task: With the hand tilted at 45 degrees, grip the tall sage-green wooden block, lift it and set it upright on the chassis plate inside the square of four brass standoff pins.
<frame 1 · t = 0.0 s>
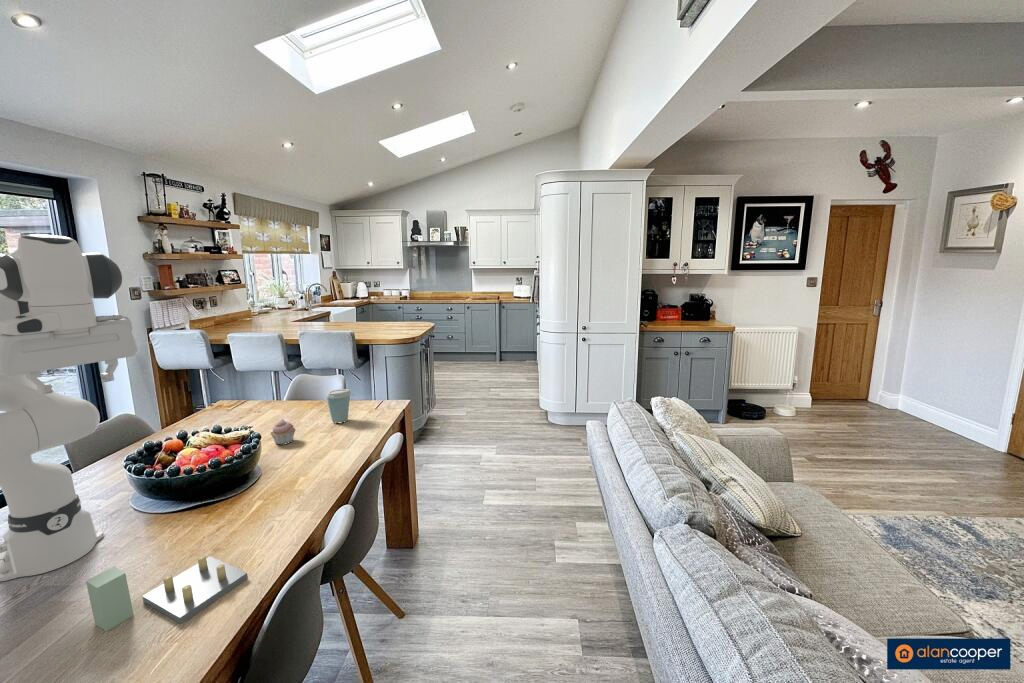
hand: (78, 387, 86), 48 cm above the table, tool pointing down, fingers open, 8 cm apart
chassis plate: (197, 589, 96), on the table
disposable coffee cup: (340, 421, 199), on the table
cupcake: (284, 442, 176), on the table
green block: (114, 619, 88), on the table
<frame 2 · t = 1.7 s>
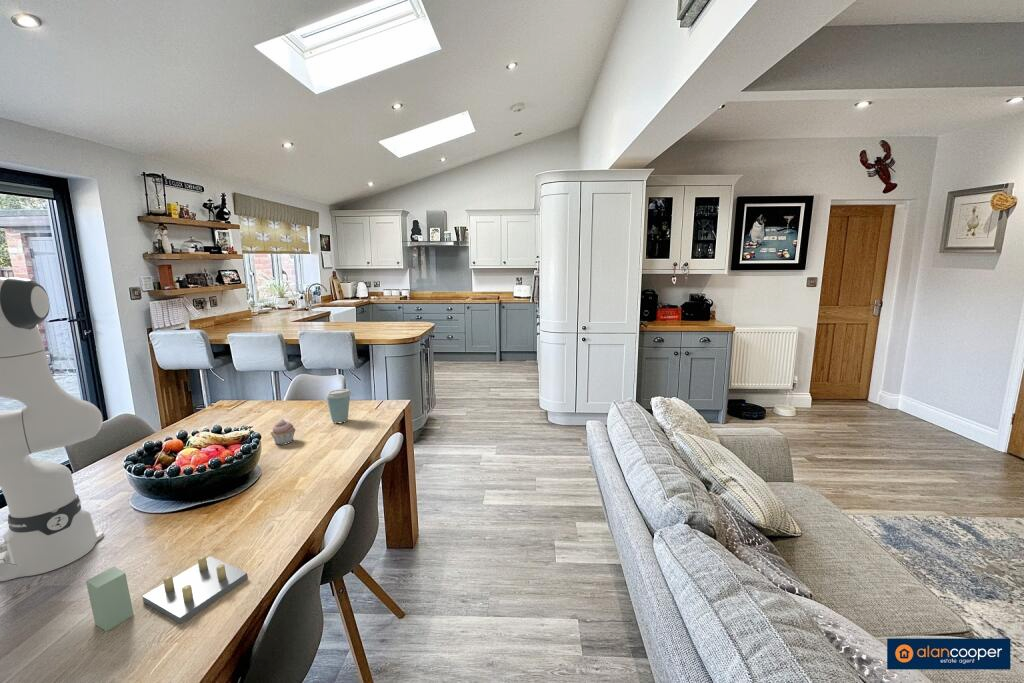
hand: (3, 563, 73), 22 cm above the table, tool tilted 45°, fingers open, 8 cm apart
nothing on the table moved.
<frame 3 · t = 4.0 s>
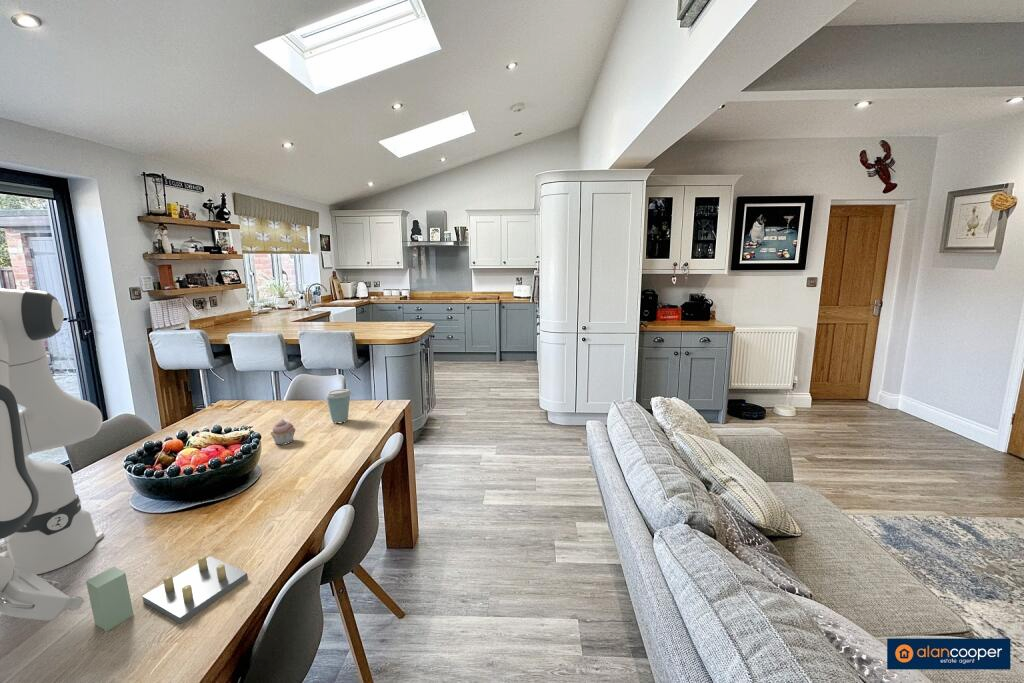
hand: (68, 595, 81), 10 cm above the table, tool tilted 45°, fingers open, 8 cm apart
nothing on the table moved.
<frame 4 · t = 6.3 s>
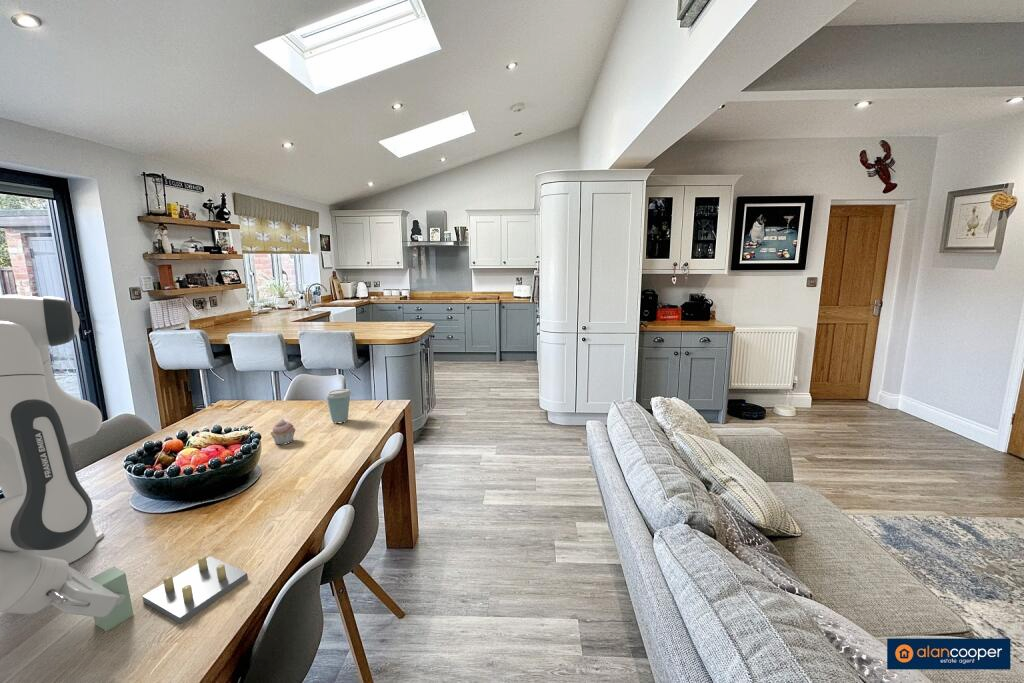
hand: (113, 594, 88), 5 cm above the table, tool tilted 45°, fingers closed on green block, 4 cm apart
green block: (114, 619, 88), on the table, touching gripper
everything else where it was.
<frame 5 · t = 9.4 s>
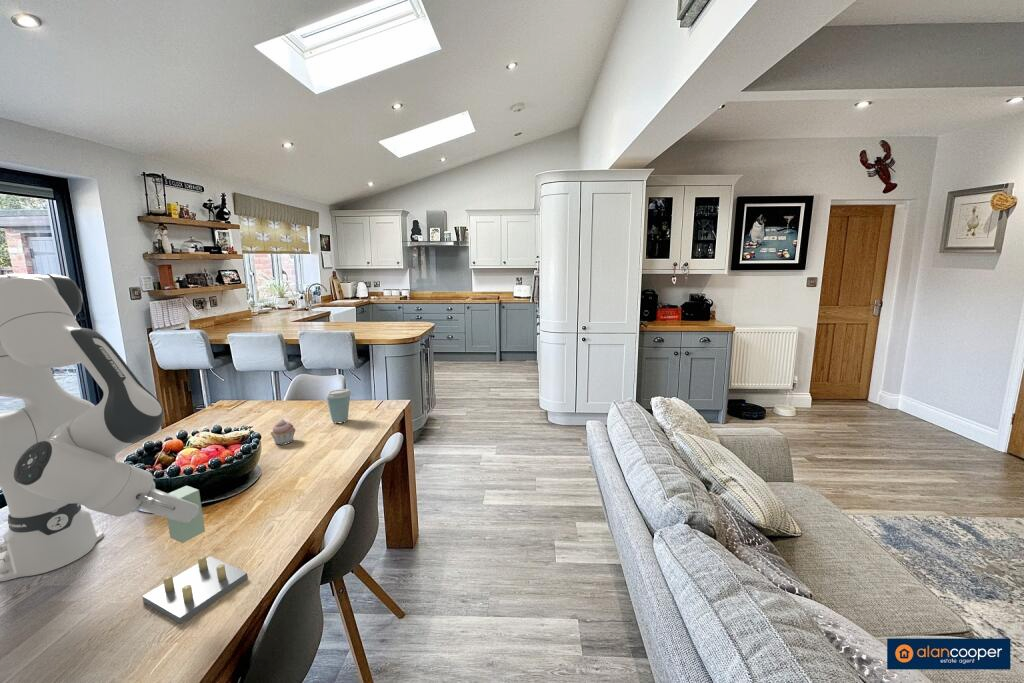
hand: (187, 510, 93), 19 cm above the table, tool tilted 45°, fingers closed on green block, 4 cm apart
green block: (187, 534, 93), point 14 cm above the table, touching gripper
everything else where it was.
when the fingers open (9 cm above the table, at t = 12.6 s): green block drops 2 cm, resting on chassis plate.
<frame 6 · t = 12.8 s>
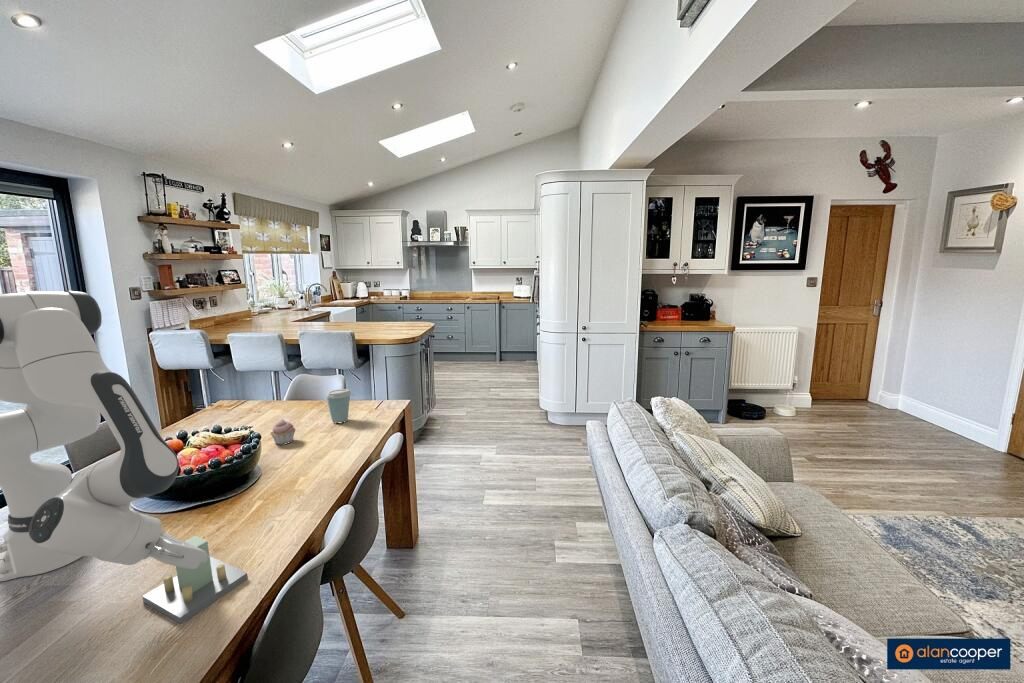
hand: (194, 553, 95), 9 cm above the table, tool tilted 45°, fingers open, 7 cm apart
green block: (196, 583, 96), point 2 cm above the table, touching chassis plate
everything else where it was.
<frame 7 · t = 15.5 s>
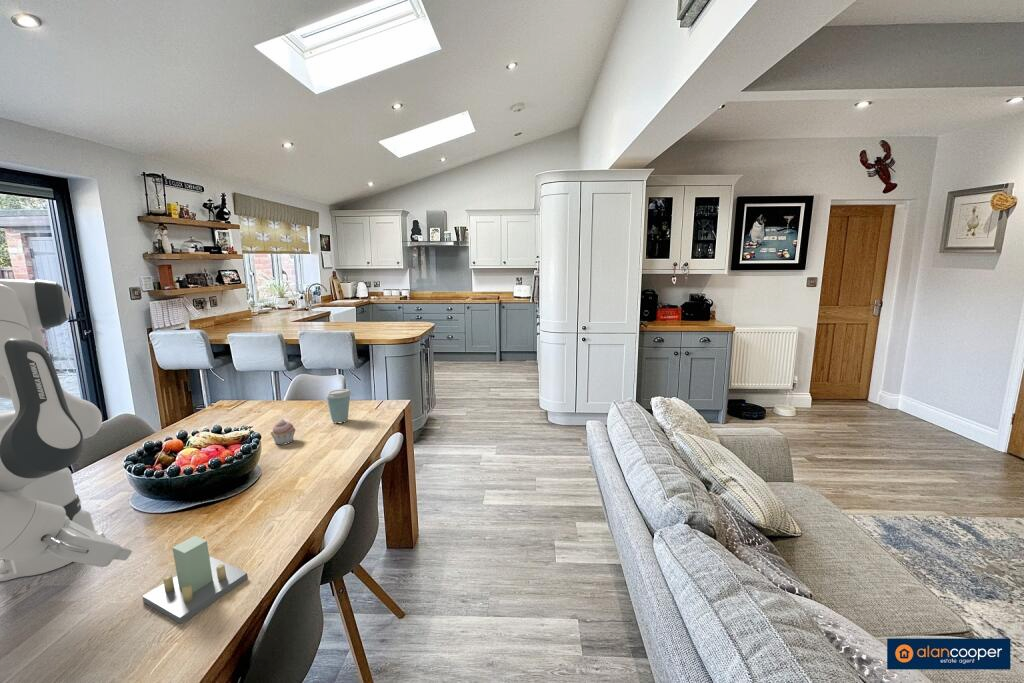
hand: (114, 547, 81), 19 cm above the table, tool tilted 45°, fingers open, 8 cm apart
nothing on the table moved.
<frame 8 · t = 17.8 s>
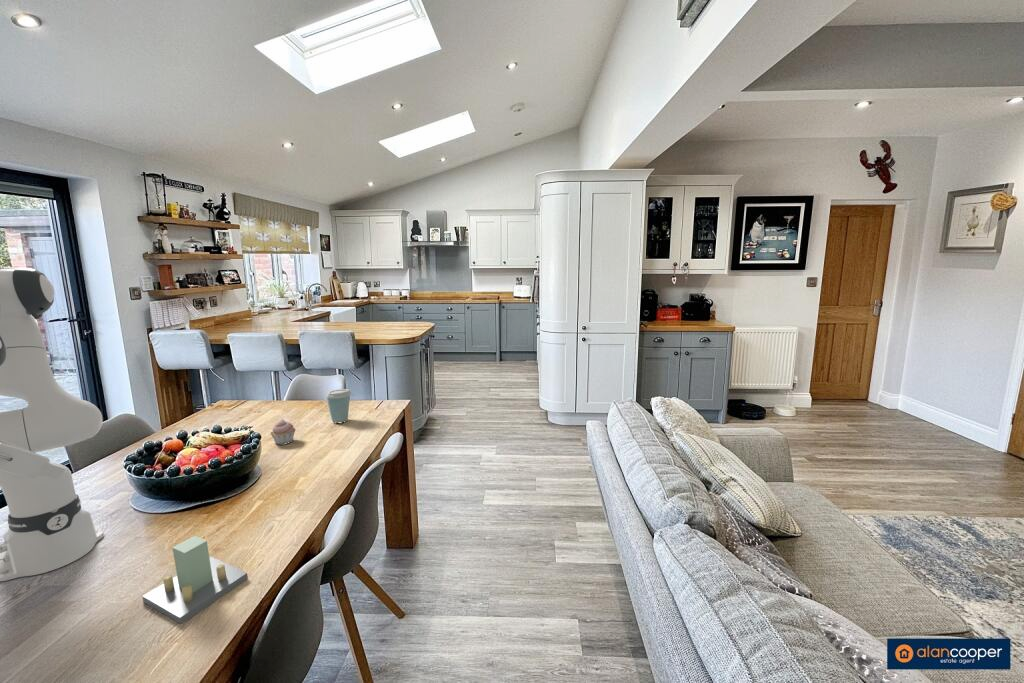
hand: (49, 468, 80), 34 cm above the table, tool tilted 45°, fingers open, 8 cm apart
nothing on the table moved.
at the end: green block 0.1 cm off-centre on the chassis plate, point 1.5 cm above the chassis plate's base; green block tilted 0°; the gripper is holding nothing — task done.
